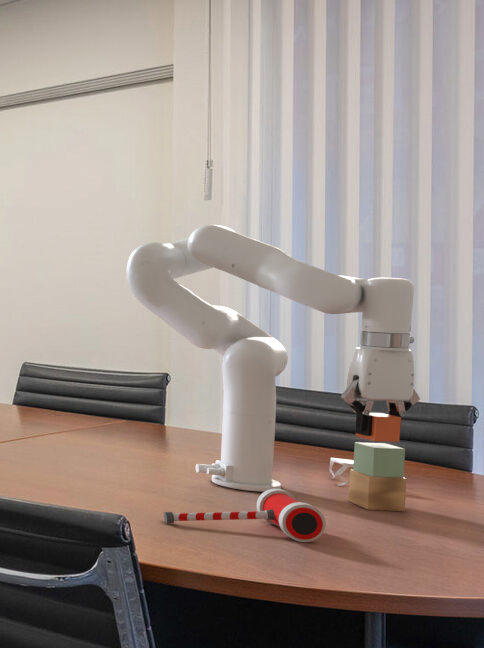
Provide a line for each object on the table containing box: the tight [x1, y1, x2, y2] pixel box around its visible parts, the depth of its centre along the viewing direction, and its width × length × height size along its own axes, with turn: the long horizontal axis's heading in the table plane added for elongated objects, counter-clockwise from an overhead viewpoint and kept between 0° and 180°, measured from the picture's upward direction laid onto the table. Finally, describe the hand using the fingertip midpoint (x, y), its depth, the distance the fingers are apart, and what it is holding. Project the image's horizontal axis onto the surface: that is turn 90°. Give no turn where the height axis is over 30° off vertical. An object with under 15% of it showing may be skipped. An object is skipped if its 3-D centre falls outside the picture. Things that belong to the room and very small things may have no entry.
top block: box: [355, 412, 402, 443], centre depth 164 cm, size 5×5×5 cm
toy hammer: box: [163, 488, 327, 543], centre depth 148 cm, size 23×12×6 cm, turn 76°
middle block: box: [352, 441, 406, 478], centre depth 164 cm, size 6×6×6 cm
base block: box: [348, 469, 407, 512], centre depth 165 cm, size 6×6×6 cm
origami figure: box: [328, 457, 354, 487], centre depth 181 cm, size 12×8×5 cm
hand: (377, 433), depth 164 cm, fingers closed on top block, 4 cm apart
